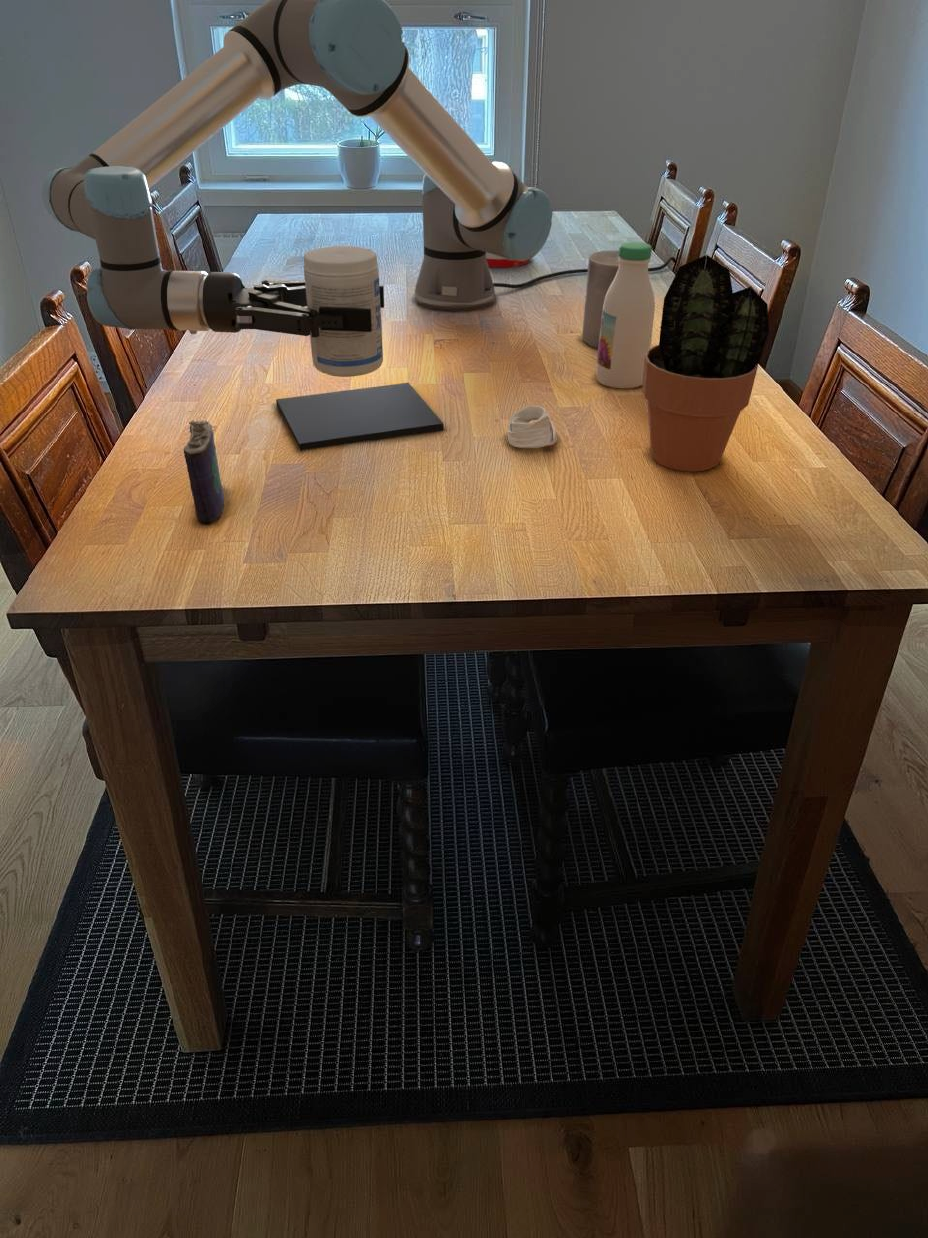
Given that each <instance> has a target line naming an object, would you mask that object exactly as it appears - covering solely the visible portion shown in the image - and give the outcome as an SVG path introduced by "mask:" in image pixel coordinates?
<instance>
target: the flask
mask: <svg viewBox="0 0 928 1238" xmlns="http://www.w3.org/2000/svg"><path fill="white" fill-rule="evenodd" d="M188 424H189V433H190V437H189V440H188V442H187V443H186V444H185V446H184V447H183V456H184V459H185V460H184V461H185V464H186V470H187V473H188V479H189V488H190V491H191V495H192V499H193V505H194V509H195V515H196V518H197V523H198V524H200V525H201V526H211V525H215V524H216V523H217V522H219V520H220V519H221V517H222V515H223V512H224V510H225V497H224V488H223V484H222V480H221V479H222V478H221V474H220V469H219V468H220V467H219V462H218V457H217V456H218V455H217V448H216V445H215V436H214V431H213V427H212V424H211V423H210V422H209V421H208V420H207V419H205V420H196V421H195V420H194V419H193V420H191V421H189V422H188Z"/></svg>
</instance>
